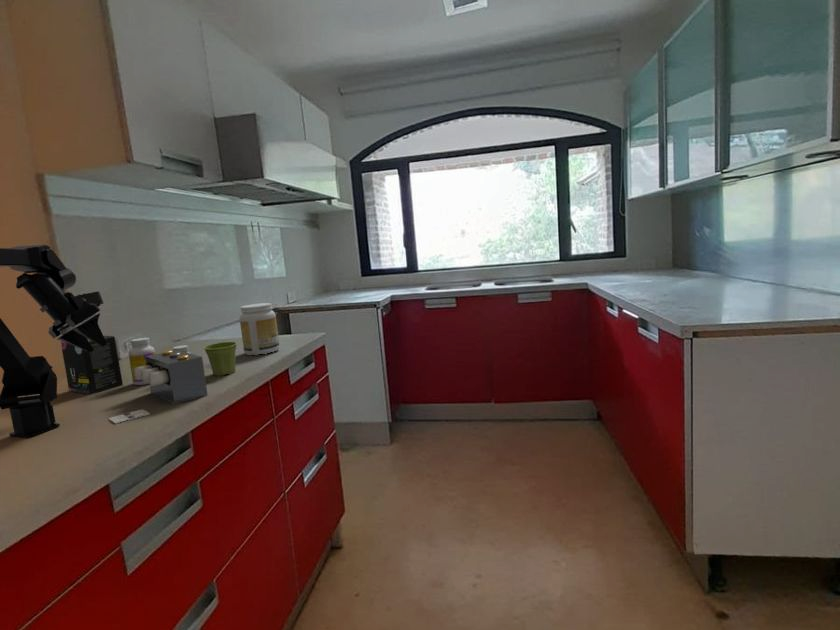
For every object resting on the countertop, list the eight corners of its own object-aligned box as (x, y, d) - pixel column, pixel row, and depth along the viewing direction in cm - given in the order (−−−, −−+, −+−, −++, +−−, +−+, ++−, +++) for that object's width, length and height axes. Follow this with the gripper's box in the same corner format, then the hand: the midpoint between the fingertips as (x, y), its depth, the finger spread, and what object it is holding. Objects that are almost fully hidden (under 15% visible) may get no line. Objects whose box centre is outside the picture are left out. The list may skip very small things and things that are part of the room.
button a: (154, 387, 116) (152, 374, 116) (149, 385, 118) (147, 372, 118) (169, 383, 119) (167, 370, 118) (165, 381, 121) (163, 369, 120)
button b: (146, 384, 120) (144, 371, 120) (142, 382, 122) (140, 369, 122) (161, 380, 123) (159, 368, 122) (157, 378, 125) (155, 366, 124)
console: (174, 404, 118) (168, 361, 117) (151, 392, 130) (144, 354, 129) (207, 395, 124) (201, 354, 123) (182, 384, 136) (176, 347, 134)
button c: (139, 380, 124) (137, 368, 123) (135, 379, 126) (133, 367, 126) (154, 377, 126) (152, 365, 126) (150, 375, 128) (148, 363, 128)
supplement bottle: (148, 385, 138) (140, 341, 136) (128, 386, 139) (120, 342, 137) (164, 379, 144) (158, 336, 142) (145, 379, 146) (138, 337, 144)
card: (115, 424, 107) (114, 422, 107) (109, 419, 110) (108, 417, 110) (149, 414, 112) (149, 412, 112) (142, 410, 115) (142, 408, 115)
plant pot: (230, 377, 140) (226, 348, 139) (200, 378, 142) (196, 349, 141) (246, 368, 150) (243, 341, 148) (219, 369, 151) (215, 342, 150)
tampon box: (68, 391, 138) (58, 341, 136) (101, 382, 146) (93, 334, 144) (90, 394, 133) (80, 342, 131) (123, 385, 141) (115, 335, 139)
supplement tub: (283, 347, 179) (277, 301, 177) (275, 354, 167) (269, 305, 165) (249, 350, 179) (243, 304, 176) (239, 357, 167) (233, 308, 164)
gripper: (95, 269, 114) (141, 322, 120) (70, 288, 126) (113, 335, 131) (49, 294, 106) (100, 350, 112) (27, 312, 118) (74, 361, 123)
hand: (98, 348), depth 120 cm, fingers open, 9 cm apart
